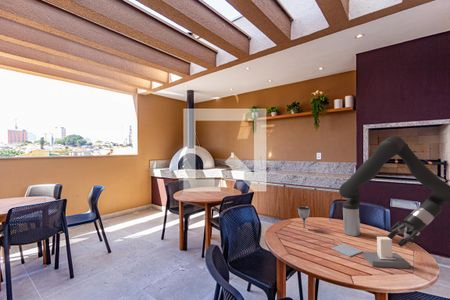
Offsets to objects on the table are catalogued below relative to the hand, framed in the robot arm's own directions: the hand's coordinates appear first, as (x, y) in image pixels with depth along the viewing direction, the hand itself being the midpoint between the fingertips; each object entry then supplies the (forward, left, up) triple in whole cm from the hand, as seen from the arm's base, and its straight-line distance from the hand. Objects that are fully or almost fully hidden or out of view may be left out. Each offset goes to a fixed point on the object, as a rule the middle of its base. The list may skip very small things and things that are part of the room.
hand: (393, 241), depth 108 cm
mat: (+8, -19, -10) cm, 24 cm away
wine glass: (+3, -55, -11) cm, 57 cm away
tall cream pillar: (+3, -2, -10) cm, 11 cm away
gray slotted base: (+3, -2, -10) cm, 11 cm away
